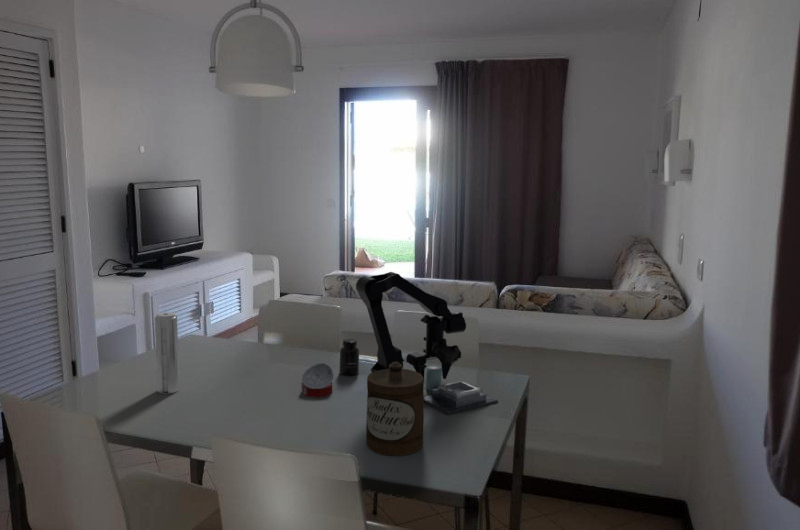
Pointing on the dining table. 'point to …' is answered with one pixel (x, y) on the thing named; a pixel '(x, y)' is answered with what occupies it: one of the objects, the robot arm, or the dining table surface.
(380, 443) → the wooden container
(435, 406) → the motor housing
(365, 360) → the dining table surface
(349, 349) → the supplement bottle
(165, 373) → the silver metal cylinder
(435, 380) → the cylinder
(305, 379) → the canned food
